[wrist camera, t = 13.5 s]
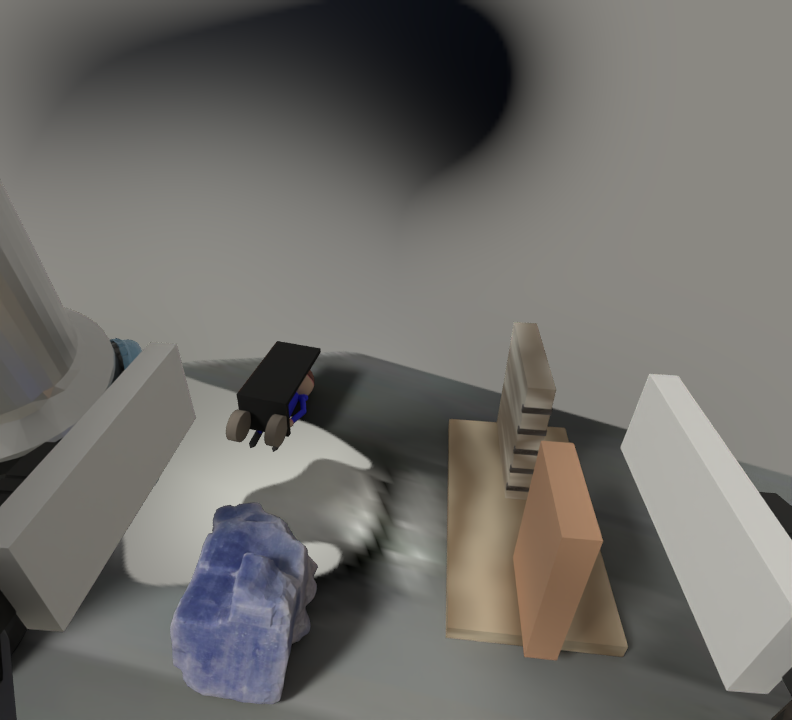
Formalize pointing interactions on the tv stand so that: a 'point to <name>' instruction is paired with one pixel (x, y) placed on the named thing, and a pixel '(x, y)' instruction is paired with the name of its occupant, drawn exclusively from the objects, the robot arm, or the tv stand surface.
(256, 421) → the figurine character
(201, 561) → the mineral
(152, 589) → the tv stand surface
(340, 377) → the tv stand surface
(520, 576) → the orange rectangular panel
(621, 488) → the tv stand surface
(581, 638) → the stand
